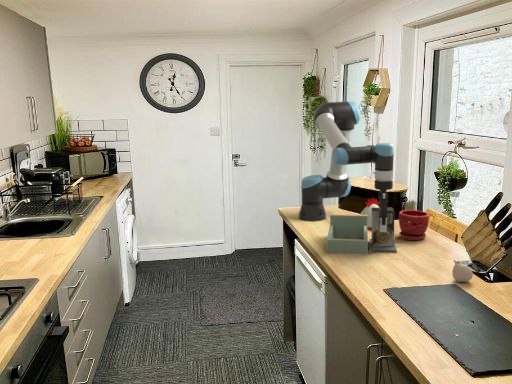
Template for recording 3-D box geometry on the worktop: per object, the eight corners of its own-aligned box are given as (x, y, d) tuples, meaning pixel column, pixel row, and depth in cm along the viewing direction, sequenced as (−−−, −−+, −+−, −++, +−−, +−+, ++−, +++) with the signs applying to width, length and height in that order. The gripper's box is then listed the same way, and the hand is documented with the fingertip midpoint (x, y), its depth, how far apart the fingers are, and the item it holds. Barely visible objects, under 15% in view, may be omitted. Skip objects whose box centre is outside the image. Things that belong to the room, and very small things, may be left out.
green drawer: (330, 235, 219) (329, 214, 216) (367, 236, 215) (367, 214, 212) (326, 253, 195) (326, 228, 192) (368, 254, 191) (368, 230, 188)
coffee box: (391, 242, 203) (392, 207, 199) (394, 246, 196) (395, 210, 193) (370, 242, 204) (371, 207, 201) (372, 246, 198) (373, 210, 194)
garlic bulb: (455, 276, 165) (456, 255, 163) (474, 280, 161) (475, 259, 159) (449, 282, 160) (450, 261, 158) (469, 286, 156) (470, 264, 154)
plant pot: (423, 243, 202) (424, 217, 200) (394, 239, 210) (394, 213, 208) (431, 236, 212) (433, 211, 210) (404, 232, 220) (404, 208, 218)
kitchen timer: (353, 225, 235) (353, 197, 232) (374, 221, 241) (374, 194, 238) (370, 232, 223) (370, 202, 220) (392, 227, 228) (393, 198, 225)
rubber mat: (369, 241, 209) (369, 238, 208) (394, 241, 206) (394, 239, 206) (369, 251, 194) (369, 249, 194) (396, 252, 192) (396, 250, 192)
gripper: (373, 174, 207) (372, 219, 211) (375, 185, 183) (374, 235, 188) (390, 174, 205) (389, 219, 210) (394, 185, 182) (393, 236, 186)
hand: (382, 227), depth 199 cm, fingers open, 13 cm apart
